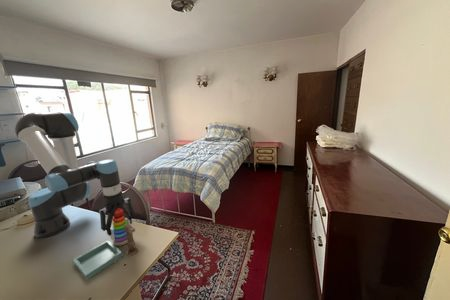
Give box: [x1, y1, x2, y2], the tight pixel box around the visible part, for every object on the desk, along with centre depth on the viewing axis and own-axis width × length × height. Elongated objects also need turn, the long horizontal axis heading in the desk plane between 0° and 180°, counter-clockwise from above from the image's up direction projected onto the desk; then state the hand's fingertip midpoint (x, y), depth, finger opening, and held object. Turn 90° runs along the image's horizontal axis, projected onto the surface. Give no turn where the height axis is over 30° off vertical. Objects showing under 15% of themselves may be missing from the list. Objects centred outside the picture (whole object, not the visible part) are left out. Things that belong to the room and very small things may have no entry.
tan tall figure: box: [123, 224, 139, 256], centre depth 85 cm, size 6×4×14 cm
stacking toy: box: [112, 208, 128, 247], centre depth 92 cm, size 8×8×19 cm
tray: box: [72, 239, 124, 281], centre depth 83 cm, size 14×14×2 cm
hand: (121, 234), depth 93 cm, fingers closed on stacking toy, 7 cm apart
